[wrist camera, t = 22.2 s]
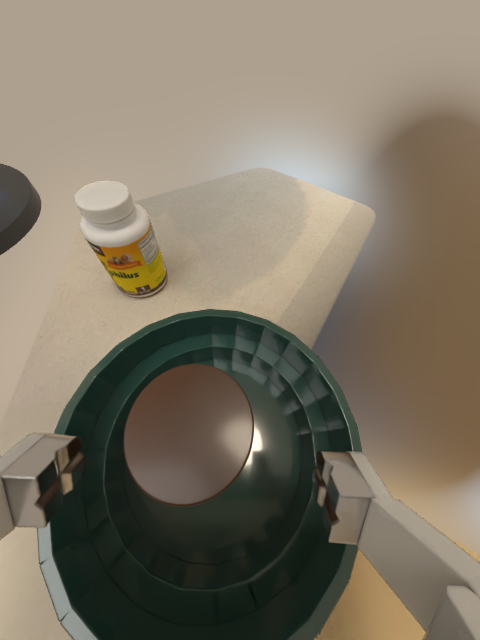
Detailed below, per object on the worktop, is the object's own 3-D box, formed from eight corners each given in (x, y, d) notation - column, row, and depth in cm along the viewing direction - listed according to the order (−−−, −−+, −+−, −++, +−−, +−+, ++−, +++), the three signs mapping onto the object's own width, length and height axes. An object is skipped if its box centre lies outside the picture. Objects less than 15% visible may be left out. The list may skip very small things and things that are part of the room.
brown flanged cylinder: (187, 470, 17) (82, 520, 5) (195, 414, 19) (135, 348, 7) (238, 473, 17) (267, 531, 5) (240, 417, 19) (265, 357, 7)
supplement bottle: (108, 290, 25) (43, 204, 16) (136, 257, 28) (94, 167, 19) (152, 306, 24) (110, 224, 16) (177, 270, 27) (153, 183, 18)
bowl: (59, 593, 14) (-56, 692, 8) (138, 339, 22) (108, 301, 17) (338, 607, 14) (412, 712, 8) (309, 350, 23) (337, 317, 17)
